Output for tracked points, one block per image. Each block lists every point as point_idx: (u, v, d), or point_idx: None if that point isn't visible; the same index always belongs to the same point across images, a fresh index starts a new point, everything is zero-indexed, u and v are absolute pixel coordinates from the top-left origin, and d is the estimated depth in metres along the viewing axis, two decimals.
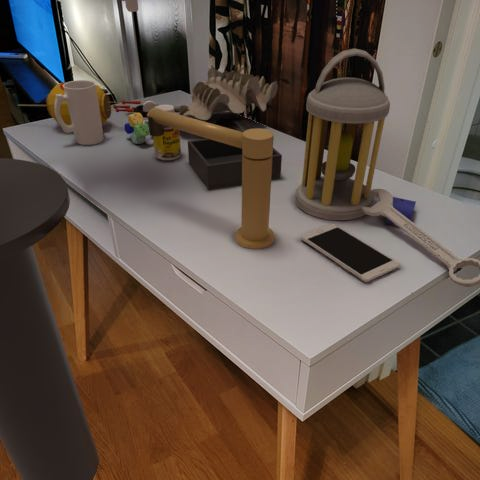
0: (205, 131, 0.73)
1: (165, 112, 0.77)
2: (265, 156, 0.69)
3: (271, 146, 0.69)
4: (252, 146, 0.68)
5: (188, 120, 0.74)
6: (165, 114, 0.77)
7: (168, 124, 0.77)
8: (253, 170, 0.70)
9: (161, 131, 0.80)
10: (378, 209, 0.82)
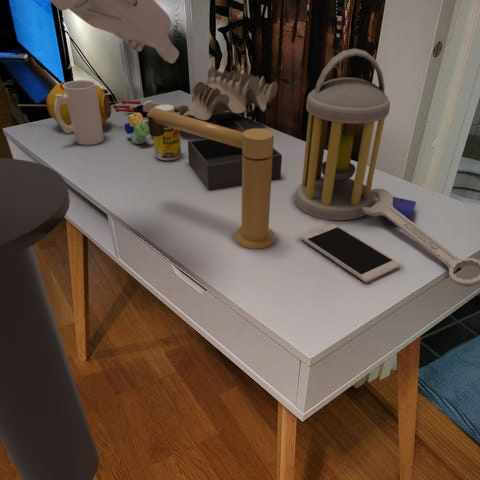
0: (205, 131, 0.73)
1: (165, 112, 0.77)
2: (265, 156, 0.69)
3: (271, 146, 0.69)
4: (252, 146, 0.68)
5: (188, 120, 0.74)
6: (165, 114, 0.77)
7: (168, 124, 0.77)
8: (253, 170, 0.70)
9: (161, 131, 0.80)
10: (378, 209, 0.82)
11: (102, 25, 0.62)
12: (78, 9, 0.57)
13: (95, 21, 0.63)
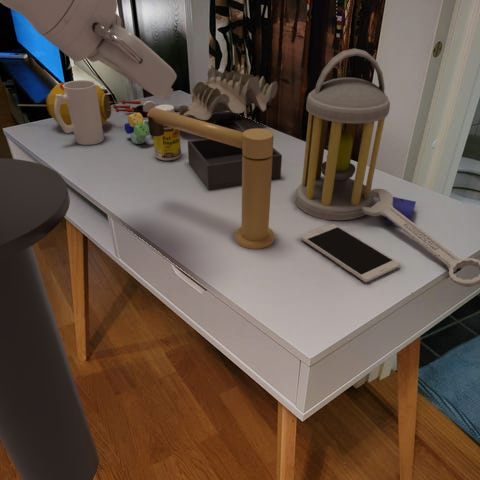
0: (205, 131, 0.73)
1: (165, 112, 0.77)
2: (265, 156, 0.69)
3: (271, 146, 0.69)
4: (252, 146, 0.68)
5: (188, 120, 0.74)
6: (165, 114, 0.77)
7: (168, 124, 0.77)
8: (253, 170, 0.70)
9: (161, 131, 0.80)
10: (378, 209, 0.82)
11: (115, 69, 0.66)
12: (90, 59, 0.60)
13: (109, 64, 0.66)
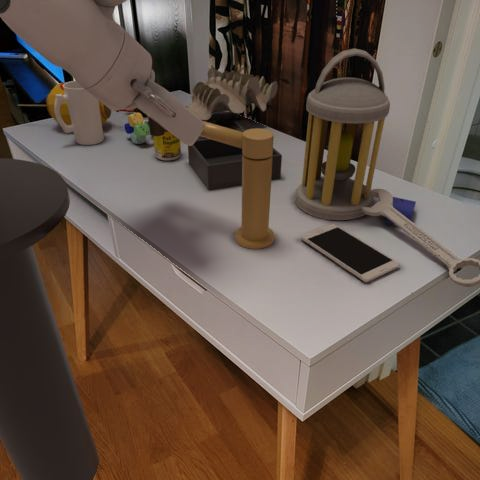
0: (205, 131, 0.73)
1: None
2: (265, 156, 0.69)
3: (271, 146, 0.69)
4: (252, 146, 0.68)
5: None
6: None
7: None
8: (253, 170, 0.70)
9: (161, 131, 0.80)
10: (378, 209, 0.82)
11: (145, 113, 0.71)
12: (125, 108, 0.66)
13: (139, 108, 0.72)
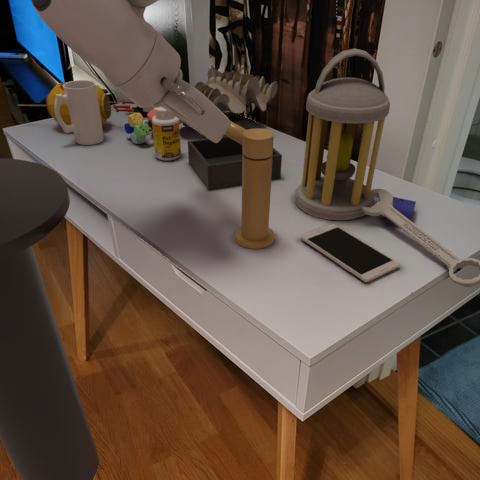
0: None
1: None
2: (260, 157, 0.69)
3: (268, 148, 0.68)
4: (248, 145, 0.68)
5: None
6: None
7: None
8: (253, 170, 0.70)
9: None
10: (378, 209, 0.82)
11: (169, 111, 0.73)
12: (153, 106, 0.67)
13: (164, 107, 0.74)
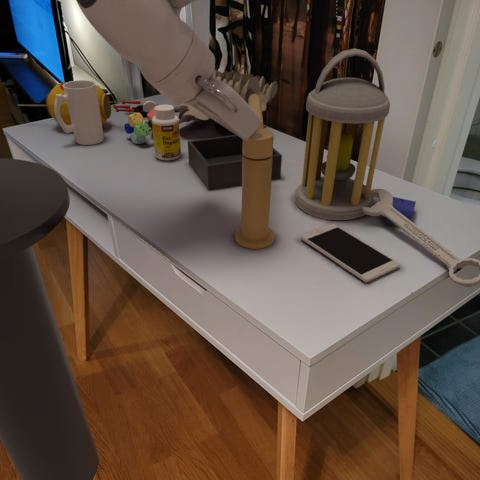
0: None
1: (253, 99, 0.82)
2: (251, 156, 0.69)
3: (260, 149, 0.68)
4: (243, 142, 0.69)
5: None
6: (251, 100, 0.82)
7: None
8: (253, 170, 0.70)
9: None
10: (378, 209, 0.82)
11: (200, 109, 0.75)
12: (185, 103, 0.69)
13: (194, 105, 0.76)
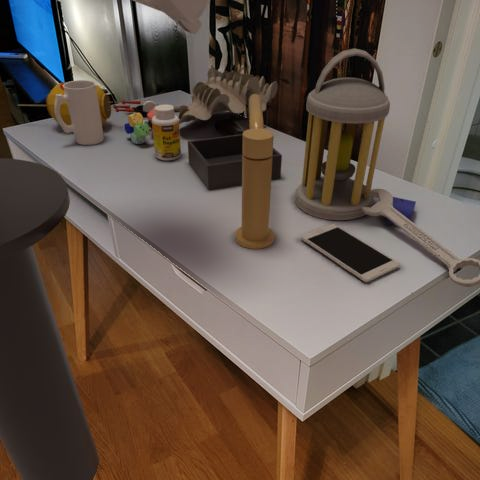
0: (249, 121, 0.76)
1: (253, 99, 0.82)
2: (251, 156, 0.69)
3: (260, 149, 0.68)
4: (243, 142, 0.69)
5: (252, 109, 0.79)
6: (251, 100, 0.82)
7: None
8: (253, 170, 0.70)
9: None
10: (378, 209, 0.82)
11: None
12: None
13: None
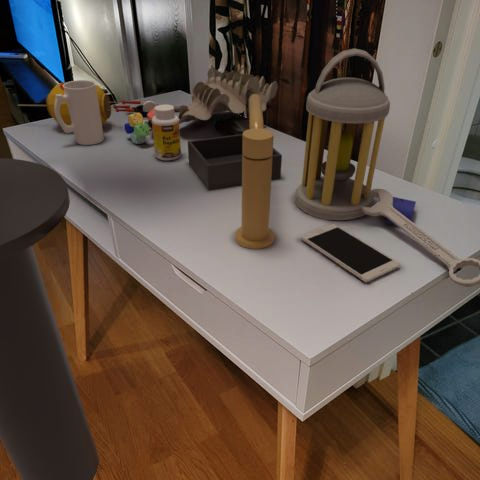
0: (249, 121, 0.76)
1: (253, 99, 0.82)
2: (251, 156, 0.69)
3: (260, 149, 0.68)
4: (243, 142, 0.69)
5: (252, 109, 0.79)
6: (251, 100, 0.82)
7: None
8: (253, 170, 0.70)
9: None
10: (378, 209, 0.82)
11: None
12: None
13: None
